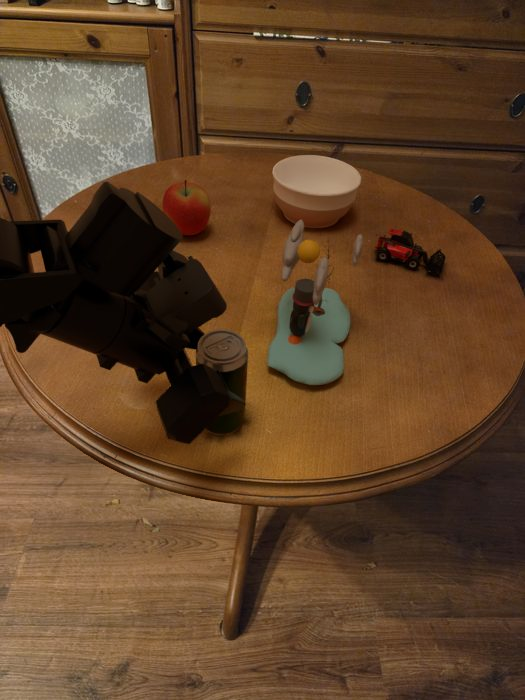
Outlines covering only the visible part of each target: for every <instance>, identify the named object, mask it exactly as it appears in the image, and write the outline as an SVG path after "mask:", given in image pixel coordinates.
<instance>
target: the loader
mask: <svg viewBox="0 0 525 700" xmlns="http://www.w3.org/2000/svg"><path fill="white" fill-rule="evenodd" d="M388 234H389V235H390V237H386V235H387V234H384V235H383V236H382V235H379V234H378V233H376V234H375V236H376V237H377V236H379V237H378V238H377V239H378V240H377V244H376V246H374V248H375V251H376V255H375V256H376V259H377V260H378V261H380V262H386V261H388V260H389V259H390V260H391V261H392V260H393V261H396V262H400V263H403V264H405V265H406V267H407V268H408V269H409V270H411V271H414V270H416V269H417V270H418V268H420V266H421V260H420V259H422V263H423V264H424V266H425V267H426V273H427V274H428V275H432V276H437V277H441V273H442V272H443V268H444V266H445V262H446V255H445V253H444V252H442V248H439V249H437V251H435V252H434V253H433V254H431V255H430V258H428V257H429V256H428V251H426V250H424V249H423V247H422V245H417V244H418V243H417V242H416V243H415V242H414V238H415V239H416V237H417V236H418V235H417V234H416V233H413V232H408V231H406V230H399V229H395V228H389V229H388ZM413 236H415V237H414V238H413Z"/></svg>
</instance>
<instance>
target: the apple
mask: <svg viewBox="0 0 525 700" xmlns="http://www.w3.org/2000/svg"><path fill="white" fill-rule="evenodd" d="M162 211H163V212H164V213H165V214H166V215H167V216H168V217H169V218H170V219H171V220H172V222H173V223H174V224H175V225H176V226H177V228H178V229H179V230H180V232H181V234H182V236H194V235H198V234H200V233H201V232H203V231H204V229H205V228H206V227H207V225H208V224H209V221H210V219H211V218H210V217H211V212H212V201H211V198H210V196H209V194H208V192H206V190H205V189H204V188H203V187H201V186H200V185H198V184H196V183H195V182H188V180H187V179H184V181H183V182H177V183H174V184H171V185H170V186H168V187H167V188H166V190H165V192H164V193H163V197H162Z"/></svg>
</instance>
